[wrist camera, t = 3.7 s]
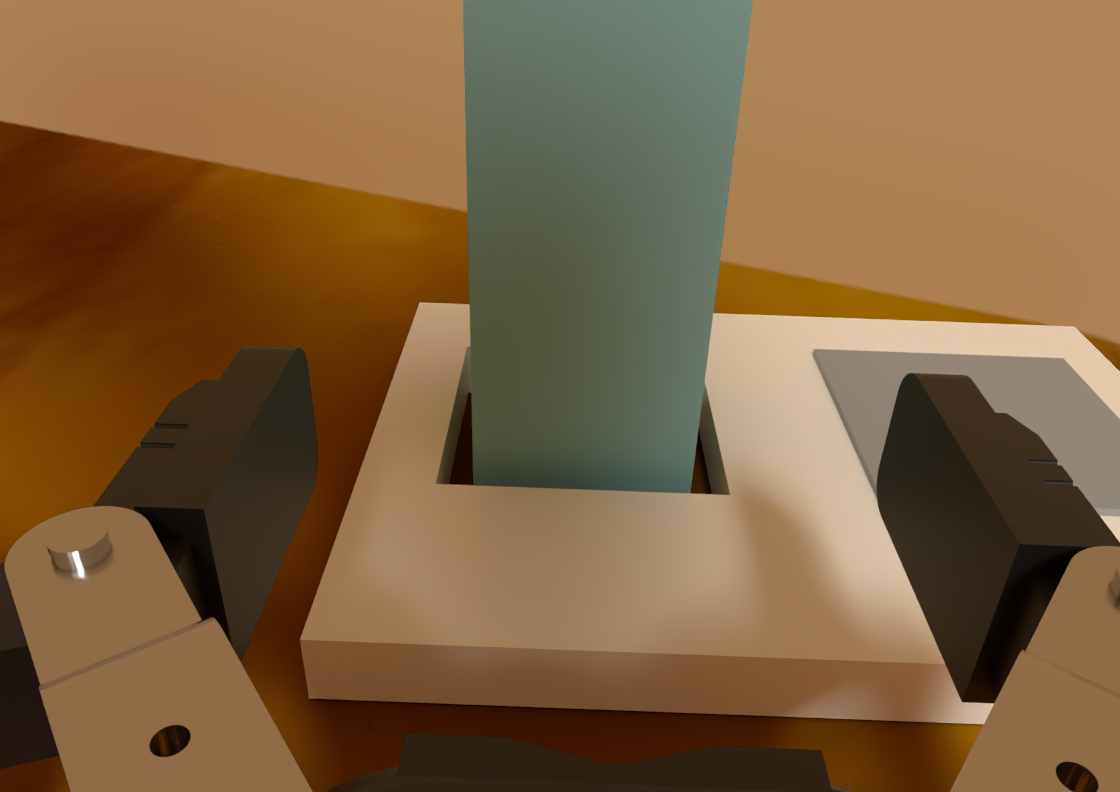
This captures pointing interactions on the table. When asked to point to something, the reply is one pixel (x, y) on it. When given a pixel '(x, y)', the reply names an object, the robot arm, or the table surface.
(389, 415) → the puzzle board
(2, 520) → the table surface
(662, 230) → the teal block
